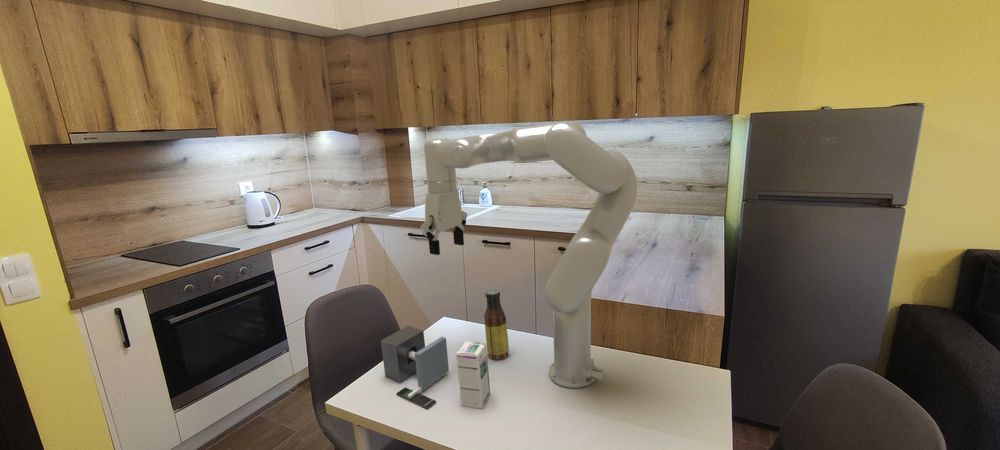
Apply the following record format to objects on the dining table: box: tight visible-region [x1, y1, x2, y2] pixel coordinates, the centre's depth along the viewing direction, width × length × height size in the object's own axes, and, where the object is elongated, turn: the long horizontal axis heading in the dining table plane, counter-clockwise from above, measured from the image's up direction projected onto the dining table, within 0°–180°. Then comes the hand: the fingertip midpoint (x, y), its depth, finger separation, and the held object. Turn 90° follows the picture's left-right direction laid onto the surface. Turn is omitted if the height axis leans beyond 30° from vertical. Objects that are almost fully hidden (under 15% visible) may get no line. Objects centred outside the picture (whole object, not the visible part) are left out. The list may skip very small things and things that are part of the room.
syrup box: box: [455, 340, 491, 410], centre depth 108 cm, size 6×6×14 cm
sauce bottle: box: [483, 289, 510, 361], centre depth 127 cm, size 7×6×20 cm
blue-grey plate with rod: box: [406, 336, 450, 398], centre depth 118 cm, size 15×14×10 cm
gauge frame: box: [380, 325, 437, 410], centre depth 117 cm, size 20×14×11 cm
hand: (447, 249), depth 120 cm, fingers open, 9 cm apart
